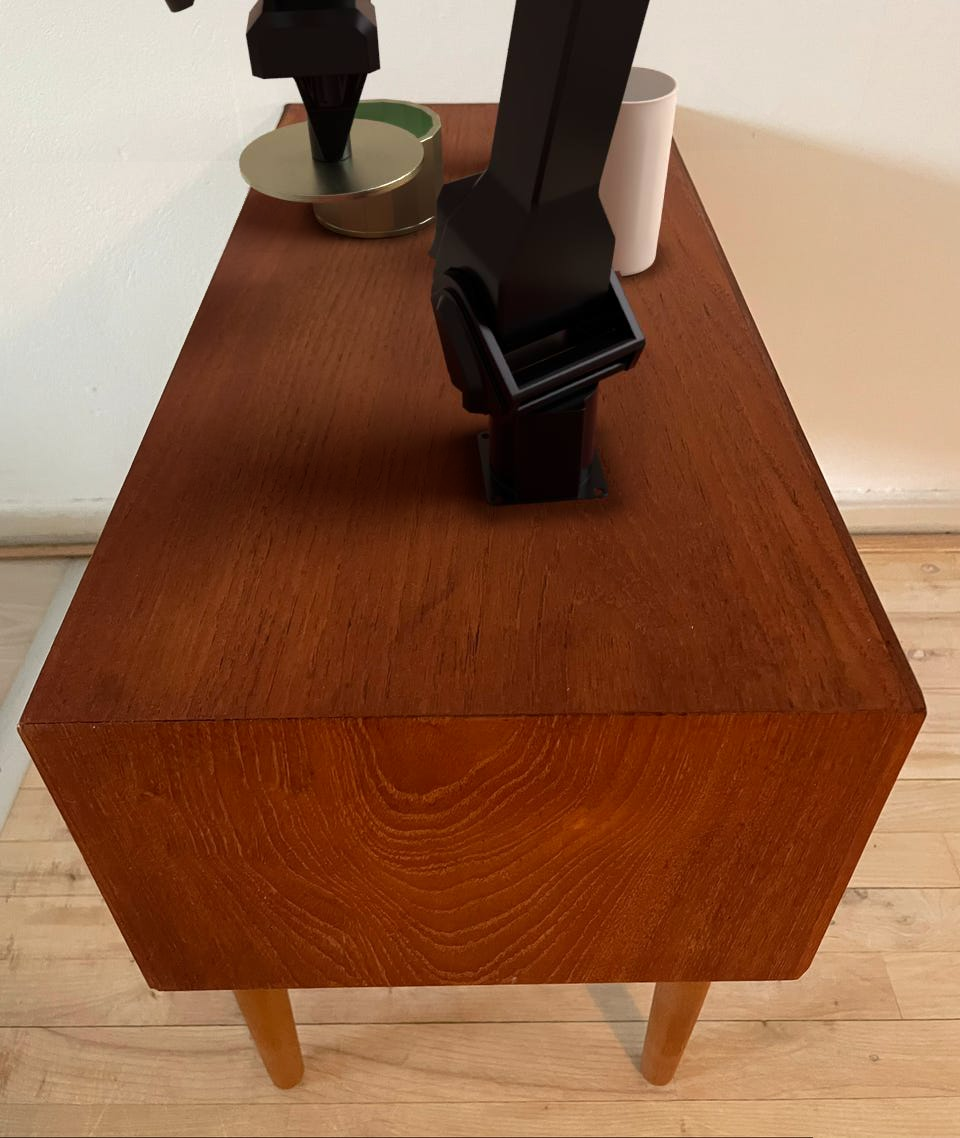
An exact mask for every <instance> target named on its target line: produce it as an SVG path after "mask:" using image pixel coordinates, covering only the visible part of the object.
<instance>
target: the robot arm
mask: <svg viewBox="0 0 960 1138" xmlns="http://www.w3.org/2000/svg"><path fill="white" fill-rule="evenodd" d="M195 1H196V0H164V2H165V3H166V5H167V8H168V9H169V11H170V12H171V13H173V14H174V13H180V12H182V11H184V10H185V11H186V10H187V9H189V8H192V7H193V6H194V4H195ZM650 1H651V0H515V3H514V4H515V5H514V10H513V16H512V22H511V29H510V34H509V41H508V46H507V52H506V58H505V64H504V65H505V66H504V70H503V77H502V83H501V89H500V96H499V102H498V108H497V112H496V113H497V114H496V120H495V126H494V131H493V132H494V133H493V138H492V145H491V152H490V155H489V162H488V165H487V167H486V168H485V170H483V171H480V172H477V173H474V174H471V175H468V176H464V177H461V178H458V179H455V180H451V181H449V182H446V183H444V185H443V186H442V189H441V191H440V194H439V196H438V198H437V201H436V221H435V231H434V236H433V242H432V244H431V246H430V248H428V251H427V254H428V257H429V259H432V260H435V261H434V266H433V272H432V283H431V289H430V303H431V306H432V307H431V308H432V312H433V316H434V320H435V324H436V329H437V333H438V336H439V341H440V345H441V350H442V353H443V357H444V358H443V359H444V361H445V367H446V371H447V373H448V375H449V378H450V382H451V384H452V385H453V387H454V388H456V389H457V390H458V391H459V392H460V393H461V401H462V404H461V405H462V406H461V407H462V408H463V409H464V410H465V411H466V412H468V414H476V415H477V414H478V415H483V416H488V430H483V431H480V432H478V434H477V437H476V439H477V444H478V445H477V446H478V451H479V457H480V463H481V469H482V475H483V482H484V488H485V495H486V500H487V503H488V504H489V505H490V506H493V507H503V506H517V505H530V504H544V503H556V502H568V501H582V500H592V499H593V500H594V499H602V498H606V497H607V496H608V495H609V493H610V492H609V487H608V483H607V481H606V476H605V474H604V470H603V467H602V463H601V460H600V456H599V453H598V450H597V446H596V443H595V440H596V430H597V429H596V428H597V415H598V402H599V389H600V382H601V381H603V380H606V379H608V378H610V377H612V376H614V375H616V374H619V373H620V372H623V371H624V372H628V371H631V370H632V369H635V368H636V366H637V364H638V362H639V359H640V358H641V355H642V353H643V351H644V349H645V347H646V344H647V342H646V337H645V335H644V333H643V331H642V328H641V327H640V324H639V322H638V319H637V317H636V315H635V313H634V311H633V308H632V306H631V304H630V302H629V300H628V297H627V296H626V294H625V291H624V289H623V286H622V285H621V282H620V280H619V278H618V276H617V273H616V271H614V269H613V267H612V262H613V256H614V249H615V242H616V232H615V230H614V227H613V225H612V222H611V220H610V217H609V215H608V212H607V210H606V207H605V204H604V202H603V199H602V197H601V194H600V191H599V188H600V181H601V177H602V174H603V170H604V166H605V163H606V159H607V155H608V152H609V148H610V144H611V141H612V137H613V134H614V130H615V126H616V123H617V119H618V115H619V112H620V108H621V104H622V101H623V97H624V93H625V90H626V86H627V82H628V79H629V75H630V71H631V68H632V66H633V64H634V61H635V56H636V53H637V49H638V45H639V41H640V38H641V36H642V35H641V34H642V30H643V26H644V23H645V20H646V17H647V12H648V9H649V5H650ZM378 32H379V31H378V21H377V15H376V6H375V5H374V4H373V3H372V1H371V0H257V1H256V2H255V3H254V5H253V6H252V8H251V9H250V10H249V12H248V17H247V23H246V28H245V39H246V45H247V51H248V59H249V65H250V70H251V75H252V77H255V78H259V79H261V80H274V79H275V80H277V79H293V80H294V82H295V85H296V88H297V90H298V93H299V95H300V98H301V101H302V103H303V106H304V110H305V113H306V112H307V115H308V118H309V121H310V123H311V126H312V129H313V132H314V134H315V137H316V140H317V143H318V146H319V148H320V151H321V154H322V157H323V159H324V160H325V161H339V160H341V159H342V158H343V155H344V152H345V148H346V145H347V141H348V138H349V135H350V131H351V128H352V124H353V121H354V117H355V114H356V110H357V107H358V104H359V101H360V100H361V97H362V94H363V90H364V87H365V84H366V81H367V78H368V75H370V74H372V73H374V72H377V71H379V70H381V56H380V43H379V33H378ZM484 435H488V438H483V436H484ZM596 490H602V491H603V493H596V492H595V491H596ZM494 498H499V499H500V501H494V500H493V499H494Z"/></svg>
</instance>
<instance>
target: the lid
mask: <svg viewBox="0 0 960 1138" xmlns="http://www.w3.org/2000/svg"><path fill="white" fill-rule="evenodd" d="M305 115H306V122H305V121H301V122H297V123H292V124H288V125H285V126H282V127H278V128H276V129H273V130H271V131H268V132H266V133H264V134H262V135H260V136H258V137H257V138H255V139H253V140H252V141H251V142H249V144H247V145H246V147H245V148H244V149H243V150H242V152H241V153H240V155H239V158H238V166H239V173H240V175H241V178H242V179H243V180H244V182H245V183H246V184H247V185H248V186H249V187H251V188H252V189H254V190H256V191H257V192H259V193H262V194H263V195H266V196H268V197H271V198H275V199H278V200H283V201H289V202H295V203H303V204H304V203H305V204H306V203H307V204H313V203H337V202H347V201H354V200H360V199H365V198H369V197H373V196H377V195H380V194H383V193H386V192H389V191H391V190H394V189H396V188H398V187H400V186H402V185H404V184H405V183H407V182H409V181H410V180H411V179H412V178H414V177H415V176H416V175H417V174H418V173H419V172H420V170H421V168H422V166H423V163H424V149H423V146H422V144H421V142H420V141H419V139H418V138H416V137H415V136H414V135H413V134H411V133H410V132H408V131H406V130H404V129H402V128H400V127H397V126H394V125H391V124H388V123H384V122H379V121H373V120H366V119H354V121H353V124H352V128H351V131H350V135H349V138H348V141H347V145H346V148H345V152H344V155H343V158H342V159H341V160H339V161H325V160H324V159H323V157H322V154H321V151H320V148H319V146H318V143H317V140H316V137H315V134H314V132H313V129H312V126H311V123H310V121H309V118H308V115H307V112H306V111H305Z"/></svg>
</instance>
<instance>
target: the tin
mask: <svg viewBox="0 0 960 1138" xmlns="http://www.w3.org/2000/svg"><path fill="white" fill-rule="evenodd" d="M354 119H366V120H373V121H379V122H384V123H388V124H391V125H394V126H397V127H400V128H402V129H404V130H406V131H408V132H410V133H411V134H413V135H414V136H415V137H416V138H418V139H419V141H420V142H421V144H422V146H423V149H424V163H423V166H422V168H421V170H420V172H419V173H418V174H417V175H416V176H415V177H414V178H412V179H411V180H410V181H409V182H407V183H405V184H404V185H402V186H400V187H398V188H396V189H394V190H391V191H389V192H386V193H383V194H380V195H377V196H373V197H369V198H365V199H360V200H354V201H347V202H337V203H312V209H313V212H314V216H315V219H316V220H317V222H318V223H319V224H320V225H321V226H322V227H324V228H325V229H326V230H329V231H331V232H333V233H335V234H339V235H343V236H347V237H352V238H360V239H384V238H395V237H399V236H400V237H401V236H403V235H404V236H405V235H409V234H412V233H415V232H417V231H420V230H423V229H424V228H426V227H428V226H430V225H432V224H433V223H435V222H436V201H437V198H438V196H439V194H440V191H441V189H442V186H443V185H444V184H445V183H444V159H443V158H444V157H443V139H442V138H443V137H442V124H441V118H440V114H438V113H436V112H435V111H433V110H432V109H431V108H430V107H428V106H426V105H422V104H419V103H416V102H412V101H410V100H402V99H401V100H400V99H390V98H371V99H370V98H369V99H360V101H359V104H358V107H357V110H356V114H355V117H354ZM306 121H307V120H306ZM306 121H304V122H306Z"/></svg>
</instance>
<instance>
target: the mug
mask: <svg viewBox="0 0 960 1138" xmlns="http://www.w3.org/2000/svg"><path fill="white" fill-rule="evenodd" d="M679 88H680V83H679V81H678V80H677V79H676V78H675V77H674V76H673V75H671V74H670V73H667V72H665V71H663V70H659V69H656V68H652V67H647V66H639V65H632V68H631V71H630V75H629V79H628V82H627V86H626V90H625V93H624V97H623V101H622V104H621V108H620V112H619V115H618V119H617V123H616V126H615V130H614V134H613V137H612V141H611V144H610V148H609V152H608V155H607V159H606V163H605V166H604V170H603V174H602V177H601V181H600V188H599V191H600V194H601V197H602V199H603V202H604V204H605V207H606V210H607V212H608V215H609V217H610V220H611V222H612V225H613V227H614V230H615V232H616V242H615V249H614V256H613V262H612V267H613V269H614V271H615V272H619V273H620V276H621V277H628V276H632V275H637V274H639V273H642V272H644V271H646V270H647V269H649V268H650V267H651V266H653V264H654V262H655V259H656V255H657V247H658V242H659V241H658V240H659V235H660V234H659V233H660V228H661V222H662V215H663V214H662V213H663V207H664V197H665V190H666V184H667V178H668V177H667V175H668V169H669V161H670V156H671V155H670V154H671V147H672V140H673V132H674V124H675V117H676V106H677V98H678V90H679Z"/></svg>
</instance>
